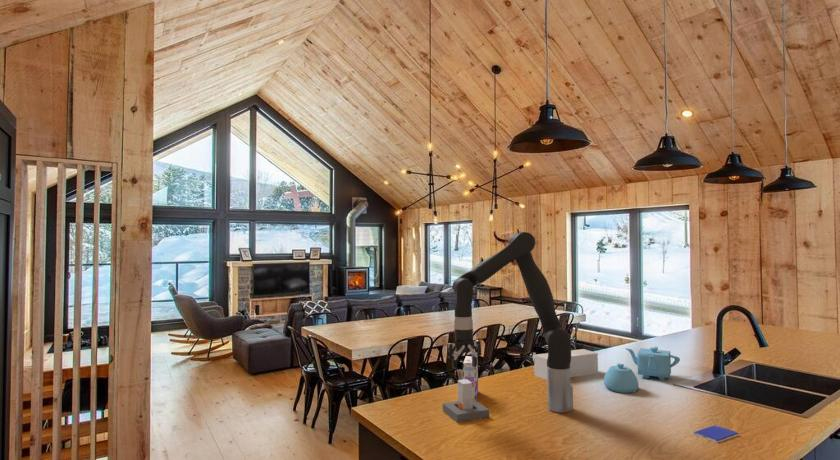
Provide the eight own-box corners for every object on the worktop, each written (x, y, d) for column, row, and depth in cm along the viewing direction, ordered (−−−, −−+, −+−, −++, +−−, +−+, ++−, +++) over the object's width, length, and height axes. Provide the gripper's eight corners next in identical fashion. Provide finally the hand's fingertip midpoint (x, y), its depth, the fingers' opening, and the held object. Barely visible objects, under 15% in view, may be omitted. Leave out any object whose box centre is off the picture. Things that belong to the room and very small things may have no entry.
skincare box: (457, 409, 187) (457, 379, 188) (467, 408, 189) (467, 378, 189) (463, 414, 182) (462, 383, 182) (473, 413, 183) (472, 382, 183)
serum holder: (473, 405, 194) (473, 398, 194) (489, 417, 181) (489, 409, 181) (442, 410, 189) (442, 403, 189) (457, 422, 176) (456, 414, 176)
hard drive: (714, 424, 168) (693, 431, 162) (738, 432, 161) (717, 439, 155) (714, 428, 168) (693, 435, 162) (738, 436, 161) (717, 444, 155)
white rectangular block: (547, 381, 229) (546, 359, 229) (534, 375, 239) (534, 354, 239) (598, 373, 240) (597, 353, 241) (584, 368, 250) (583, 348, 251)
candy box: (476, 401, 200) (475, 363, 200) (462, 400, 201) (462, 362, 201) (478, 391, 213) (477, 355, 214) (466, 391, 214) (465, 355, 215)
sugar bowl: (631, 384, 221) (631, 360, 221) (644, 394, 206) (643, 368, 206) (599, 383, 222) (599, 359, 223) (609, 393, 207) (608, 368, 208)
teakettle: (684, 380, 225) (683, 350, 226) (651, 383, 221) (650, 352, 222) (656, 370, 244) (655, 342, 244) (625, 373, 239) (624, 344, 240)
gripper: (451, 330, 180) (452, 372, 180) (483, 327, 185) (484, 368, 185) (443, 327, 187) (444, 367, 187) (475, 324, 192) (476, 363, 192)
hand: (464, 367), depth 186 cm, fingers open, 8 cm apart
